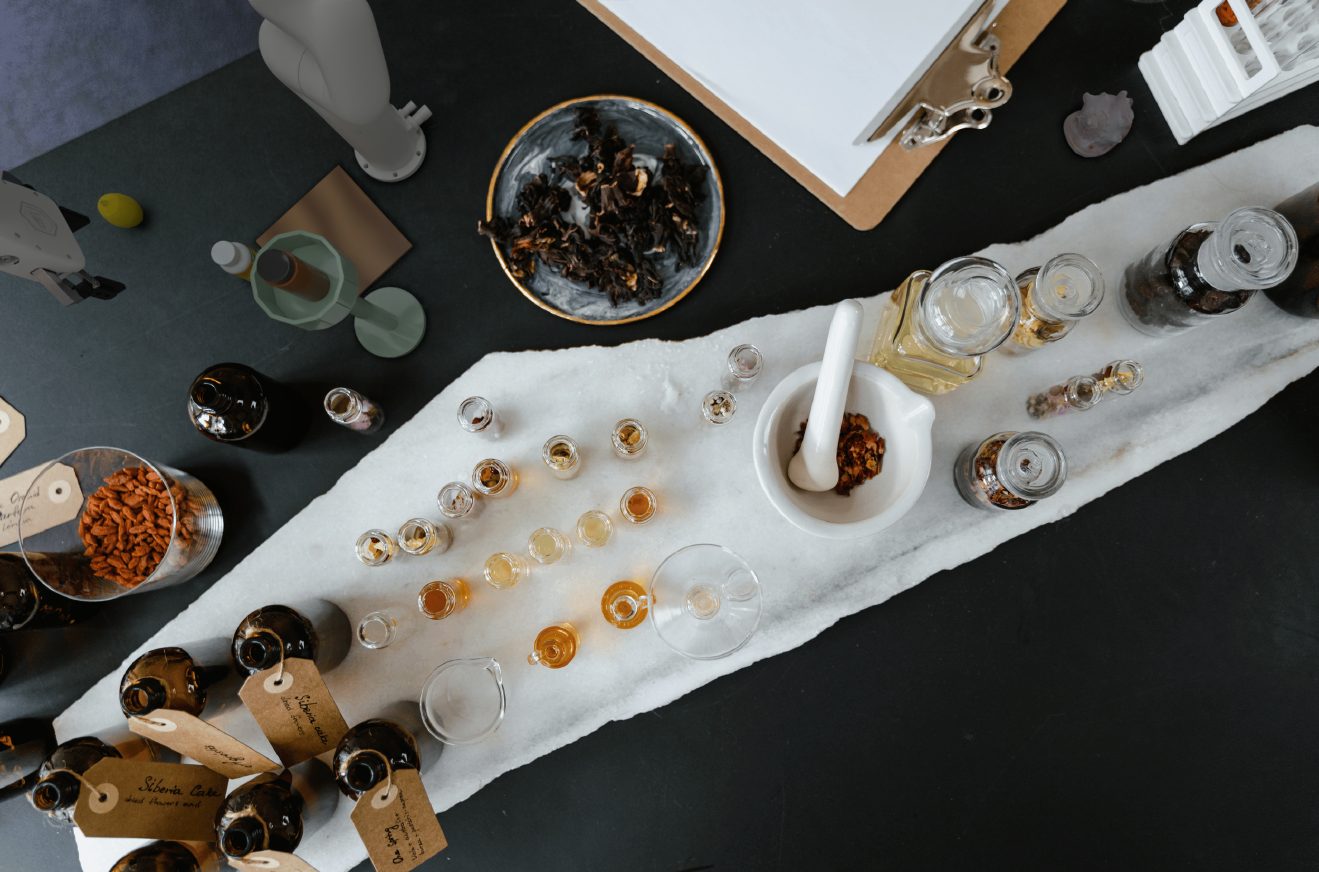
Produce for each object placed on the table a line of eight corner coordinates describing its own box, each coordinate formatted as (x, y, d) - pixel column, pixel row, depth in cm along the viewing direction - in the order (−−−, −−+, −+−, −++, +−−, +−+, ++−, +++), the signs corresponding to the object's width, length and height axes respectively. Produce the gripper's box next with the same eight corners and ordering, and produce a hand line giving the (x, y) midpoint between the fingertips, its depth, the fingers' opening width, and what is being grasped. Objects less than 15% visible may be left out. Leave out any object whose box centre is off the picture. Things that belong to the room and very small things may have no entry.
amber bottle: (314, 260, 92) (274, 238, 83) (337, 285, 92) (299, 266, 83) (289, 284, 92) (246, 264, 83) (311, 309, 92) (270, 292, 83)
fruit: (131, 199, 119) (92, 180, 111) (159, 209, 119) (121, 191, 111) (119, 227, 119) (79, 210, 111) (147, 238, 119) (109, 222, 111)
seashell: (1050, 116, 115) (1083, 85, 106) (1112, 84, 115) (1150, 51, 105) (1078, 167, 114) (1114, 140, 105) (1141, 135, 114) (1182, 106, 105)
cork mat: (340, 166, 118) (338, 164, 118) (413, 246, 117) (412, 245, 117) (257, 241, 118) (255, 240, 118) (330, 323, 117) (328, 322, 117)
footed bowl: (394, 274, 117) (300, 211, 88) (440, 324, 117) (361, 279, 88) (342, 321, 117) (232, 274, 88) (388, 372, 117) (292, 342, 88)
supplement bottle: (238, 267, 118) (200, 250, 109) (262, 248, 118) (225, 229, 109) (257, 290, 118) (219, 275, 108) (280, 271, 118) (245, 254, 108)
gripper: (16, 263, 66) (155, 303, 83) (-62, 115, 66) (92, 185, 83) (-48, 301, 66) (104, 333, 83) (-125, 153, 66) (41, 215, 84)
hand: (98, 258), depth 83 cm, fingers open, 9 cm apart
